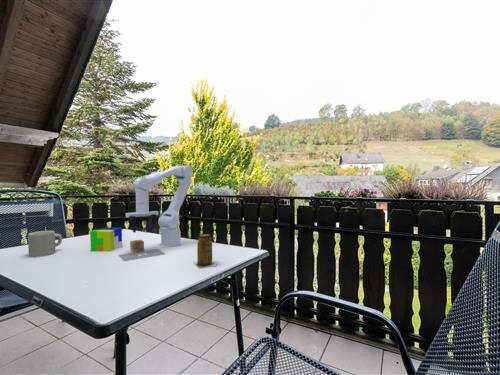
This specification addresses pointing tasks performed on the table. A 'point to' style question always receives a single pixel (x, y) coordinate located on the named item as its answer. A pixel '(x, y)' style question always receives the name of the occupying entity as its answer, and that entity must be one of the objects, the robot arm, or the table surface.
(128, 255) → the gray tile
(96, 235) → the puzzle toy
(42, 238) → the coffee mug
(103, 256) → the table surface
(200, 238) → the condiment
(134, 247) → the walnut block
